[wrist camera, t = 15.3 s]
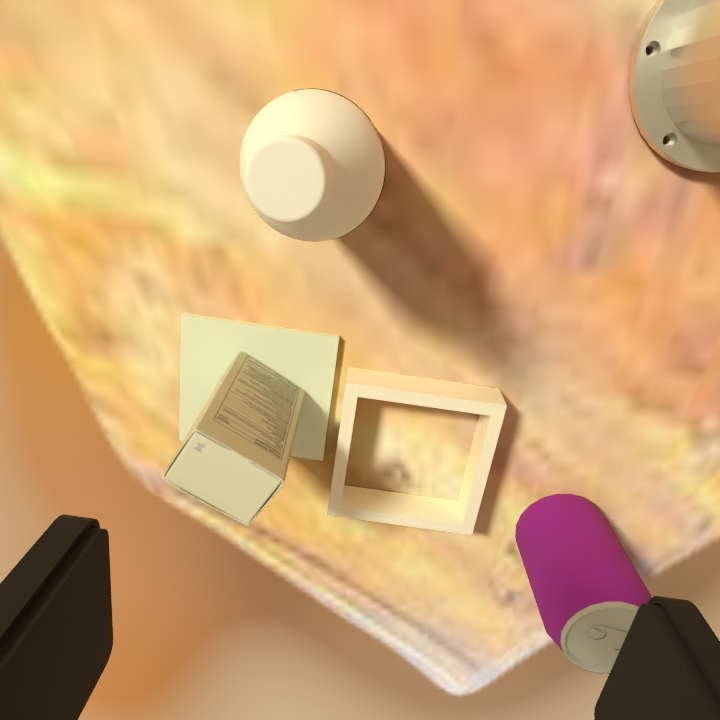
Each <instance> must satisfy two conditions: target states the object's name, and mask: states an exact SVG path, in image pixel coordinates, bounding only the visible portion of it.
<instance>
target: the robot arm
mask: <svg viewBox="0 0 720 720" xmlns="http://www.w3.org/2000/svg"><path fill="white" fill-rule="evenodd" d="M646 47H649V48H650V53H649V55H648V56H647V54H646ZM629 99H630V104H631V109H632V114H633V117H634V120H635V122H636V124H637V127H638V129H639V131H640V133H641V135H642V136H643V137H644V139H645V140H646V142H647V143H648V144H649V146H650V147H651V148H652V149H653V150H654V151H655V152H657V153H658V154H659V155H660V156H661V157H662V158H664V159H665V160H667V161H669V162H671V163H673V164H675V165H677V166H679V167H683V168H687V169H690V170H694V171H703V172H711V173H712V172H720V0H659V1H658V2H657V3H656V5H655V6H654V8H653V9H652V10H651V12H650V14H649V16H648V18H647V20H646V21H645V23H644V25H643V27H642V29H641V31H640V33H639V36H638V39H637V42H636V45H635V48H634V51H633V54H632V60H631V66H630V72H629ZM665 136H666V138H667V141H666V143H664V144H663V138H664V137H665ZM109 559H110V558H109V536H108V531H107V530H105V529H100V525H99V522H98V520H97V519H92V518H85V517H78V516H70V515H61V516H59V517H58V518H57V519H56V520H55V521H54V522H53V523H52V524H51V525H50V526H49V528H48V529H47V530H46V531H45V532H44V533H43V535H42V536H41V537H40V538H39V539H38V541H37V542H36V543H35V544H34V545H33V546H32V547H31V549H30V550H29V551H28V552H27V553H26V554H25V556H24V557H23V558H22V559H21V560H20V561H19V563H18V564H17V565H16V566H15V567H14V569H13V570H12V571H11V572H10V573H9V574H8V575H7V577H6V578H5V579H4V580H3V581H2V582H1V584H0V720H78V718H79V716H80V714H81V712H82V710H83V708H84V707H85V705H86V703H87V701H88V699H89V697H90V695H91V693H92V691H93V689H94V688H95V686H96V684H97V681H98V680H99V678H100V676H101V674H102V672H103V670H104V668H105V667H106V664H107V662H108V660H109V657H110V654H111V650H112V645H113V627H112V604H111V582H110V560H109ZM594 715H595V720H720V641H719V640H718V638H717V637H716V635H715V634H714V632H713V631H712V629H711V628H710V626H709V625H708V623H707V622H706V620H705V619H704V617H703V616H702V614H701V613H700V611H699V610H698V608H697V607H696V606H695V605H694V604H693V603H692V602H690V601H687V600H680V599H673V598H666V597H658V596H657V597H656V596H654V597H652V598H651V599H650V600H649V602H648V603H647V604H642V605H641V606H640V607H639V609H638V611H637V613H636V615H635V618H634V620H633V622H632V624H631V627H630V629H629V631H628V634H627V636H626V638H625V640H624V643H623V645H622V647H621V649H620V652H619V654H618V656H617V658H616V661H615V663H614V665H613V667H612V670H611V672H610V674H609V676H608V679H607V681H606V683H605V685H604V688H603V690H602V692H601V694H600V697H599V699H598V701H597V703H596V707H595V713H594Z"/></svg>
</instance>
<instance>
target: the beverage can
mask: <svg viewBox="0 0 720 720" xmlns="http://www.w3.org/2000/svg"><path fill="white" fill-rule="evenodd" d="M515 537H516V542H517V545H518V548H519V551H520V554H521V557H522V560H523V563H524V566H525V569H526V572H527V576H528V579H529V582H530V585H531V588H532V591H533V594H534V597H535V600H536V603H537V606H538V609H539V612H540V615H541V618H542V621H543V624H544V627H545V629H546V632H547V634H548V635H549V636H550V637H551V638H552V639H553V641H554V642H555V643H556V644H557V645H558V646H559V647H560V649H561V650H562V651H563V652H564V653H565V655H566V657H567V658H568V659H569V660H570V661H571V662H572V663H573V664H574V665H576V666H577V667H579V668H581V669H583V670H585V671H589V672H593V673H610V672H611V670H612V667H613V665H614V663H615V661H616V658H617V656H618V654H619V652H620V649H621V647H622V645H623V643H624V640H625V638H626V636H627V634H628V631H629V629H630V627H631V624H632V622H633V620H634V618H635V615H636V613H637V611H638V609H639V607H640V606H641V605H642V604H647V603H648V602H649V600H650V599H651V595H650V593H649V591H648V590H647V588H646V586H645V584H644V583H643V581H642V579H641V578H640V576H639V574H638V573H637V571H636V569H635V567H634V566H633V564H632V562H631V561H630V559H629V557H628V555H627V554H626V552H625V550H624V549H623V547H622V545H621V544H620V542H619V540H618V538H617V537H616V535H615V533H614V532H613V530H612V528H611V527H610V525H609V523H608V521H607V520H606V518H605V517H604V516H603V514H602V513H601V512H600V510H599V509H598V508H597V507H596V505H595V504H594V503H592V502H590V501H589V500H587V499H586V498H584V497H581V496H577V495H573V494H555V495H551V496H548V497H544V498H541V499H540V500H538V501H536V502H535V503H533V504H531V505H530V506H529V507H528V508H527V509H526V510H525V511H524V512H523V513H522V514H521V516H520V518H519V520H518V522H517V525H516V535H515Z"/></svg>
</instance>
